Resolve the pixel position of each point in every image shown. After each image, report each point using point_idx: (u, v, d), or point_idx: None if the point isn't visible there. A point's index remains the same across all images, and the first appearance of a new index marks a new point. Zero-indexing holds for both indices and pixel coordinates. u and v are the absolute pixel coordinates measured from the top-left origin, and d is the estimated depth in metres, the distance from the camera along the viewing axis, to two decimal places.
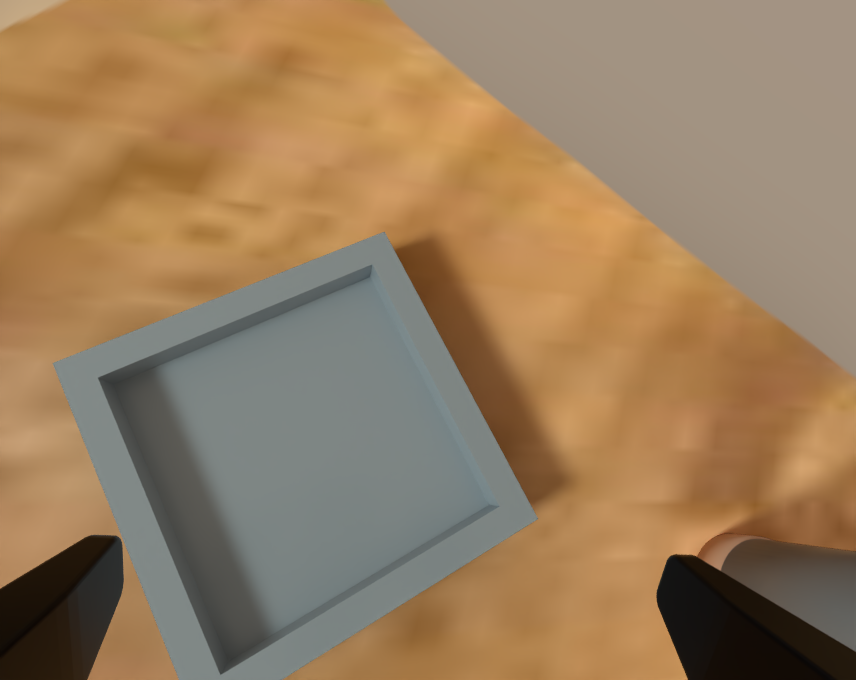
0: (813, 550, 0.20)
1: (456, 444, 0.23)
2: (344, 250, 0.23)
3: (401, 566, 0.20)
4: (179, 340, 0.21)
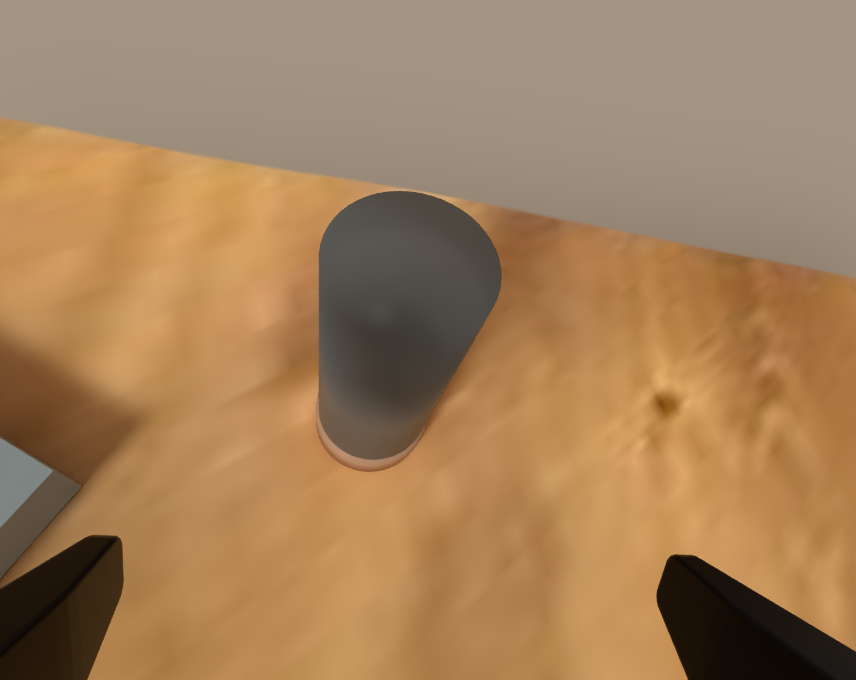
0: None
1: None
2: None
3: None
4: None
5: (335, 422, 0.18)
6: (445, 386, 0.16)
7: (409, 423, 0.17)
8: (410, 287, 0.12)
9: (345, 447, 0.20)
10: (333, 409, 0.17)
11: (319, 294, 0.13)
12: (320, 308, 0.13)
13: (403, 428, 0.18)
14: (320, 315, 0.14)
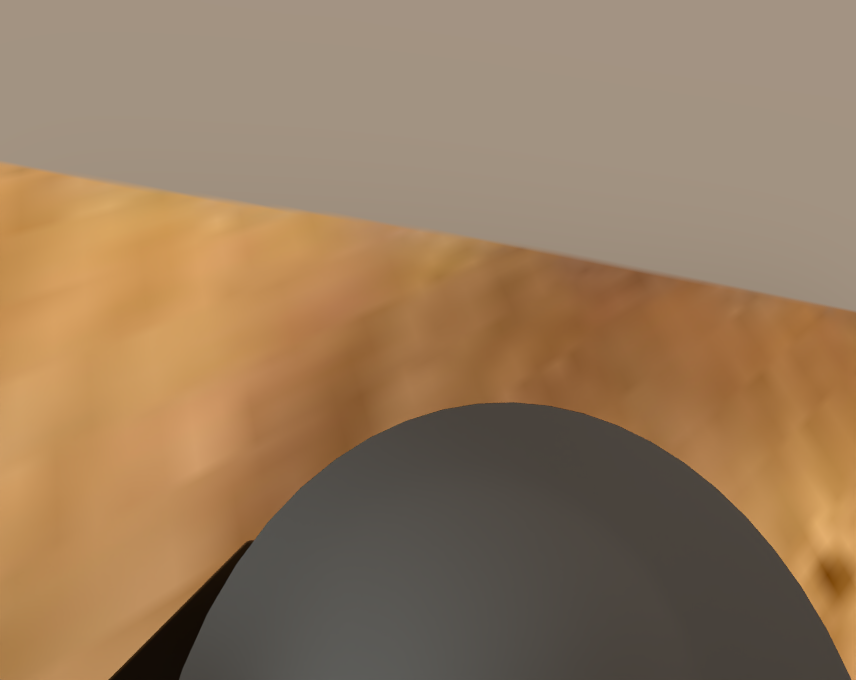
0: None
1: None
2: None
3: None
4: None
5: None
6: None
7: None
8: None
9: None
10: None
11: None
12: None
13: None
14: None
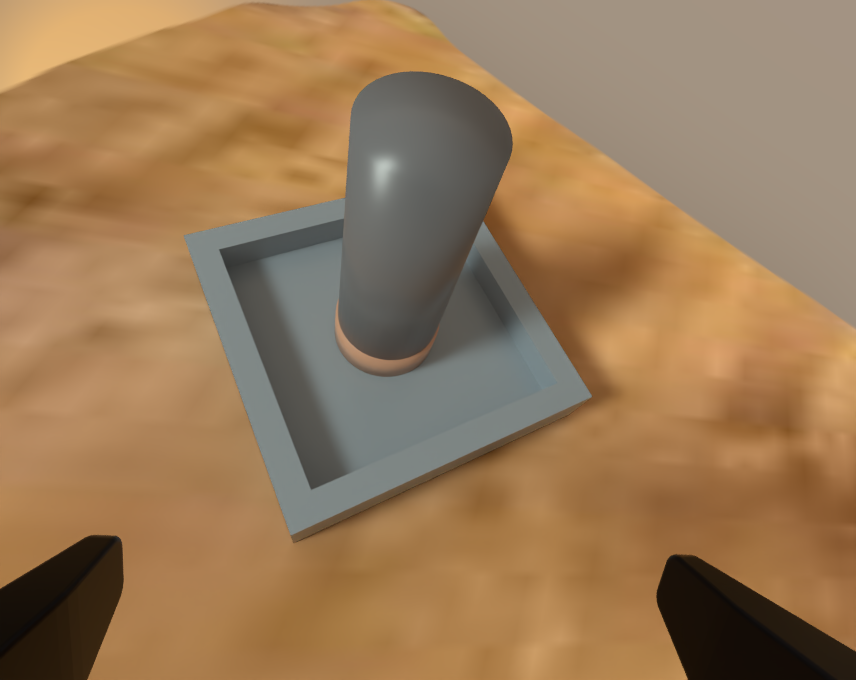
0: None
1: (514, 343, 0.26)
2: None
3: (471, 420, 0.22)
4: (286, 230, 0.24)
5: (356, 314, 0.20)
6: (459, 266, 0.18)
7: (425, 308, 0.19)
8: (432, 145, 0.14)
9: (363, 345, 0.22)
10: (355, 297, 0.19)
11: (349, 160, 0.15)
12: (349, 175, 0.15)
13: (419, 315, 0.19)
14: (349, 184, 0.15)
